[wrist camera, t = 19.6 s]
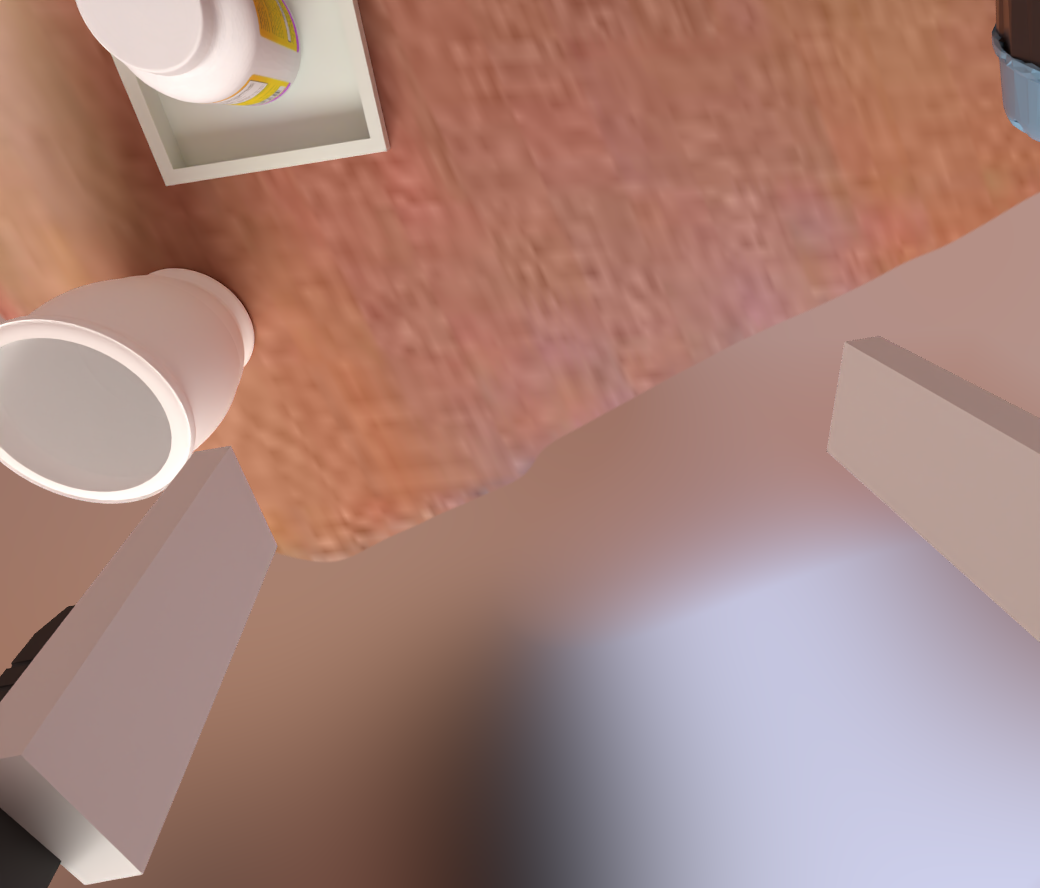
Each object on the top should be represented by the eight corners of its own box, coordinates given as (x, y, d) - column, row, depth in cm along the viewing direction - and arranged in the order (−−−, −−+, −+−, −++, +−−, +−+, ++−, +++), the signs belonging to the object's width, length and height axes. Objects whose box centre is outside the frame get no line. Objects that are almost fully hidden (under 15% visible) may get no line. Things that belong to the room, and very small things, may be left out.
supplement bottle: (200, -63, 31) (57, -167, 20) (320, 15, 33) (252, -40, 22) (168, 65, 33) (26, 37, 22) (281, 129, 35) (203, 134, 24)
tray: (326, -137, 30) (316, -157, 28) (390, 148, 37) (386, 150, 35) (69, -99, 30) (40, -116, 28) (183, 182, 37) (166, 186, 35)
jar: (299, 326, 42) (231, 419, 29) (219, 416, 45) (125, 536, 32) (164, 217, 38) (13, 270, 25) (85, 324, 40) (-88, 421, 28)
